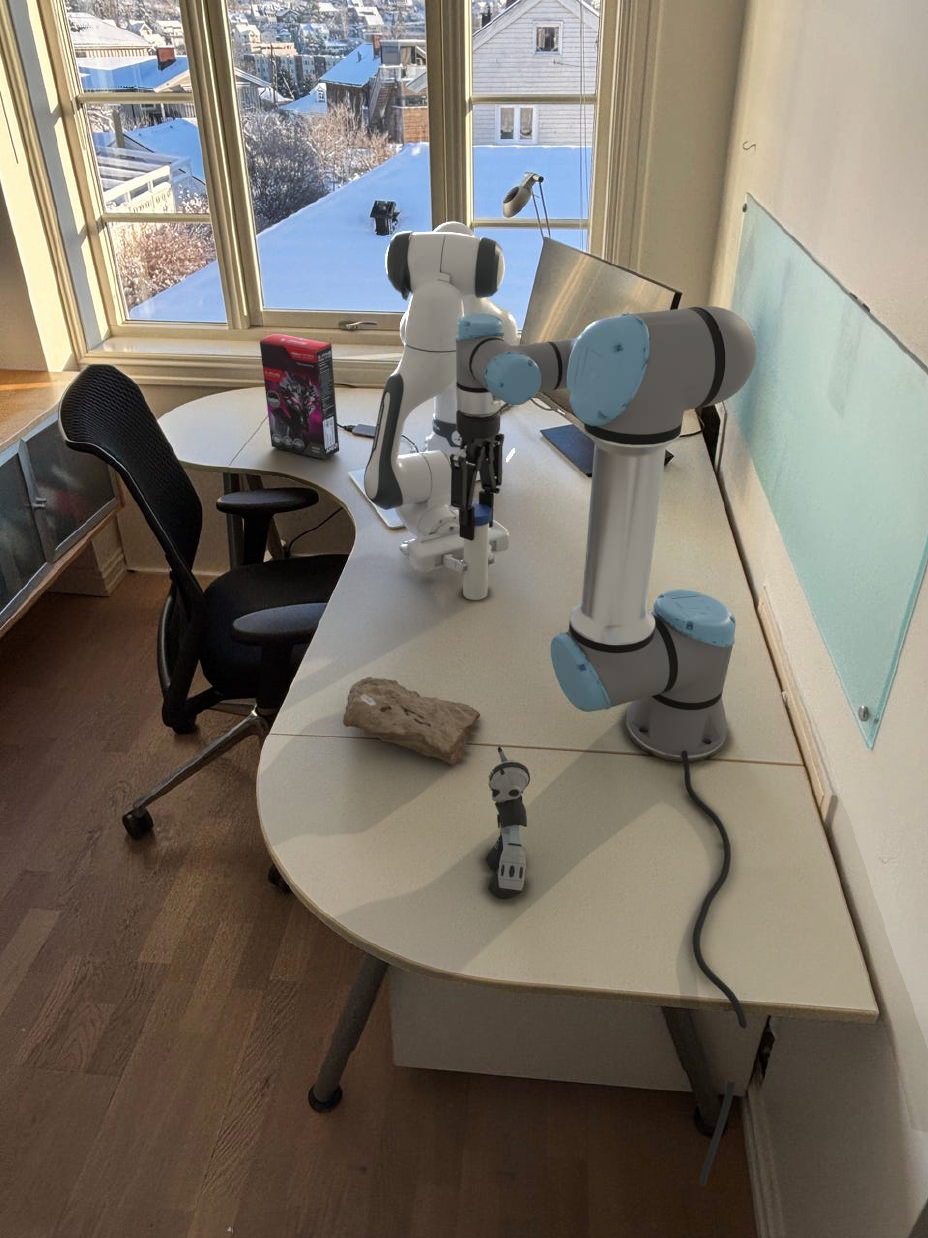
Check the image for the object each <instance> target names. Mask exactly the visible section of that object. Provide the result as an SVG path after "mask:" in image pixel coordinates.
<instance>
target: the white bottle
mask: <svg viewBox="0 0 928 1238" xmlns="http://www.w3.org/2000/svg"><path fill="white" fill-rule="evenodd" d="M488 549H489V523H488V524H486V525H483V526H474V540H472V541H471V540H468V539H465V538H464V554H463V560H464V561H465V562H466V563H467V571H464V572H462V573H463V574H462V575H463V576H462V579H463V580H462V594H463V596H464V597H465V598H466V599H468V600H470V601H471V600H472V601H480V600H483V599H485V598H487V596H488V588H489V587H488V584H489V581H488V580H489V565H488Z"/></svg>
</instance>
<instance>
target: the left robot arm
mask: <svg viewBox="0 0 928 1238" xmlns="http://www.w3.org/2000/svg"><path fill="white" fill-rule="evenodd" d="M386 249H387V250H386V253H385V269H386V273H387V278H388V279H387V280H388V281H389V283H390V284H391V287H393V288H394V290H395V291H396V292H398V293H400V294H401V298H402V300H404V301H408V299H409V296H410V294H411V296H410V300H409V304H408V309H407V310H406V312H405V313H404V315H402V319H401V321H400V324H399V325H400V326H399V335H400V340H401V342H402V344H403V352H402V356H401V359H400V361H399V363H398V365H397V368H396V369H395V370H394V372H393V373H392V374H391V375H389V376H388V377H387V379H386V381H385V383H384V387H383V391H382V395H381V399H380V404H379V410H378V414H377V420H376V426H375V431H374V434H373V435H374V436H373V441H372V447H371V452H370V455H369V458H368V462H367V464H366V467H365V470H364V475H363V488H364V493H365V495H366V498H368V500H370V502H371V503H373V504H374V505H375V506H376V507H379V508H380V509H383V510H385V511H389V510H392V509H394V511H395V513H396V516H397V517H398V519H399V520H400V522H401V524H402V525H403V526H404V527H405V528H406V529H407V530H408V531H409V532H410V533H411V534H412V535H413V536H414V537H415V538H414V537H413V538H411V539H409V540H406V541H404V542H403V543H402V544H400V546H399V551H400V552H401V553H402V554H403V555H405V556H407V559H408V562H410V564H411V566H412V567H413V569H414V570H415V571H416V572H419V573H426V572H430V571H434V570H438V569H441V568H444V567H445V568H447V569H452V570H455V571H457V572H458V573H463V572H464V571H467V563H466V562H465V561H464V560H463V554H464V538H462V537H459V533H460V523H459V509H451V508H450V507H452V506H451V463H450V455H451V454H455V455H456V454H457V453H458V452H459V451H460V445H461V440H462V438H461V436H460V435H459V433H458V432H457V430H456V412H457V410H458V409H457V408H456V342H455V340H456V335H457V323H458V321H459V319H460V318H462V317H463V316H466V315H469V314H480V313H481V314H491V315H495V316H497V317H499V318H500V319H501V320H502V322H503V332H504V336H503V340H504V341H505V342H507V343H508V344H510V345H512V346H515V345H516V343H517V339H518V332H519V331H518V330H519V329H518V325H517V321H516V319H515V316H514V315H513V313H511V312H510V310H508V309H507V308H504V307H502V306H500V305H498V304H497V303H495V302H494V301H492V299H490V298H491V297H493V296H494V295H495V294H496V293H497V292H498V291H499V289H500V288H499V287H500V286H501V284H502V282H503V279H504V278H505V272H506V260H505V257H504V253H503V248H502V246H501V245H500V244H499V242H498V241H497V240H494V239H492V238H488V237H485V236H481V237H477V236H476V234H475V233H474V232H473V230H472V229H471V228H470V227H469V226H467V225H466V224H464V223H462V222H459V221H448V222H444V223H442V224H440V225H438V226H437V227H436V228H435V229H434V230H433V231H425V232H423V231H422V232H414V230H407V231H401V232H396V233H395V234H394V235H393V236H392V237H391V239H390V241H389V245H388V247H387V248H386ZM431 399H433V405H434V406H433V407H434V413H433V414H432V418H431V420H432V421H431V425H432V432H431V434H430V435H429V436H425V438H424V446H425V447H426V450H425V451H420V452H415V453H407V454H400V455H399V452H400V447H401V442H402V437H403V432H404V428H405V423H406V420H407V419H408V417H409V415H410V414H411V413H412V412H413V411H414V410H415V409H416V408H418V407H419V406H420V405H422V404H423V403H425V402H427V401H429V400H431ZM508 406H511V405H510V404H507V403H505V402H504V404H502V405H500V409H499V411H500V412H501V411H503V410H504V409H506V408H507V407H508ZM515 452H516V450H515V448H513V449H512V450H511V451H510V453H509V454H508V455H507V457H506V461H505V462H506V463H508V462H509V460H510V459H511V458H512V457H513V455H514V453H515ZM469 464H471V463H469ZM472 465H475V464H472ZM477 481H481V480H480V474H479V471H478V472H477V477H476V482H477ZM510 537H511V536H510V532H509V530H508V529H506V528H505V527H504V526H503V525H502V524H500V523H499V522H498V521H497V520H495V519H493V526H492V527H491V528H489V549H488V566H489V565H493V564H496V556H495V554H497V553H501V552H505V551H507V550H508V549H509V546H510V542H511V541H510Z"/></svg>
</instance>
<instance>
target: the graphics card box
mask: <svg viewBox="0 0 928 1238" xmlns="http://www.w3.org/2000/svg"><path fill="white" fill-rule="evenodd" d="M259 348H260V356H261V357H260V358H261V364H262V365H261V366H262V373H263V382H264V391H265V398H266V399H265V400H266V409H267V416H268V417H267V418H268V425H269V434H270V444H271V448H272V447H273V448H276V449H280V450H285V451H289V452H293V453H298V454H302V455H306V456H309V457H313V458H314V457H315V458H318V459H322V460H326V459H328V458H329V457H331V456H333V455H334V454H336V453H338V452H339V451H340V443H339V441H340V440H339V431H338V430H339V429H338V414H337V403H336V390H335V389H336V388H335V376H334V364H333V363H334V362H333V350H332V349H333V345H332V343H331V342H324V341H318V340H314V339H313V340H312V339H307V338H302V337H297V336H292V335H286V334H281V333H272V334H269V335H266V336H265V337H264V338H262V339H261V340H259Z"/></svg>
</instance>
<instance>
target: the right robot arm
mask: <svg viewBox="0 0 928 1238" xmlns="http://www.w3.org/2000/svg"><path fill="white" fill-rule="evenodd" d="M503 336H504V332H503V322H502V320H501V319H500V318H499V317H497V316H495V315H491V314H481V313H480V314H469V315H466V316H463V317H462V318H460V319H459V321H458V323H457V335H456V340H455V342H456V408H457V409H458V410H457V412H456V430H457V432H458V433H459V435H460V436H461V438H462V440H461V445H460V451H459V452H458V453H457V454H456V455H455V454H451V455H450V463H451V506H450V507H453V508H456V509H458V510H459V523H460V533H459V537H462V538H465V539H468V540H471V541H472V540H474V515H475V507H474V506H472V503H473V500H474V495H475V488H476V484H477V483H476V482H477V481H476V477H477V472H478V471H479V474H480V480H479V481H480V485H481V489H482V490H479V491H478V503H480V504H485V505H488V506H489V507H490V508H491V509H492V520H491V522H490V523H489V528H491V527H492V526H493V520H494V505H495V494H496V495H499V494H500V492H501V489H500V487H501V486H502V484H503V447H504V441H505V434H504V433H500V431H501V411H499V409H500V407H501V401H502V402H504V404H505V403H507V404H510V405H509V406H521V405H524V404H526V403H527V402H529V401H530V400H532V399H533V398H535V397H536V395H537V394H538V393H546V392H550V391H557V390H564V389H567V390H566V391H567V392H568V393H569V394H570V396H569V399H568V402H569V405H570V408H571V410H572V412H573V413H574V415H575V417H576V418H577V419H578V420H579V421H580V423H581V422H582V423H583V431H584V433H585V434H586V435H587V436H588V437H589V438H590V439H591V440H592V441H593V442H594V447H593V448H594V450H593V459H592V460H593V461H592V473H591V485H590V486H591V488H590V496H589V497H590V500H589V512H588V523H587V535H586V547H585V560H584V561H585V562H584V563H585V564H584V574H583V584H582V597H581V602H579V603H578V604H576V605H575V606H574V607H573V608H572V609H571V611H570V613H569V620H568V621H569V623H568V631H565V632H564V631H563V632H562V631H560V632H559V633H558V634H556V635H555V636H554V637H553V638H552V640H551V643H550V658H551V659H550V660H551V664H552V668H553V671H554V675H555V677H556V679H557V682H558V684H559V687H560V689H561V690H562V692H563V694H564V696H565V697H566V698H567V700H568V701H569V702H570V704H571V705H572V706H573V707H574V708H576V709H577V710H579V711H581V712H584V713H592V712H597V711H602V710H610V709H611V708H614V707H619V706H621V705H625V704H628V703H630V704H629V706H628V708H627V713H626V719H625V728H626V732H627V734H628V736H629V738H630V739H631V741H632V742H634V744H636V745H637V746H638V747H639V748H640V749H641V750H643V751H645V752H646V753H648V754H650V755H651V756H654V757H656V758H659V759H662V760H666V761H670V762H675V763H682V765H683V772H684V785H685V789H686V791H687V793H688V795H689V797H690V799H692V801H693V802H694V803H695V805H697V806H698V807H699V808H700V809H701V811H703V812H704V813H705V814H706V815H707V816H708V817H709V818H710V819H711V820H712V821H713V823H714V824H715V826H716V828H717V829H718V832H719V834H720V836H721V840H722V845H723V864H722V868H721V872H720V874H719V876H718V878H717V879H716V882H715V883H714V884H713V886H712V887H711V889H710V890H709V891H708V893H707V895H706V896H705V898H704V900H703V902H702V906H701V908H700V911H699V914H698V917H697V919H696V922H695V925H694V928H693V932H692V933H693V934H692V935H693V936H692V949H693V954H694V955H693V956H694V958H695V961H696V963H697V965H698V967H699V969H700V971H702V973H703V974H704V975H705V977H706V978H707V979H708V980H709V981H710V982H711V983H712V984H714V985H715V986H716V987H717V988H718V989H719V990H720V991H721V992H722V993H723V994H724V995H725V996H726V998H727V999H728V1000H729V1002H730V1003H731V1006H732V1007H733V1009H734V1010H735V1014H736V1017H737V1021H738V1024H739V1027H740V1028H742V1029H747V1027H748V1024H747V1017H746V1014H745V1012H744V1009H743V1005H742V1004H741V1002H740V1001H739V999H738V997H737V996H736V994H735V993H734V992H733V990H732V989H731V988H730V987H729V986H728V985H727V984H726V983H725V982H724V981H723V980H721V978H720V977H718V976H717V975H716V974H715V973H714V972H713V971H712V969H710V968H709V966H708V965H707V963H706V962H705V960H704V958H703V955H702V949H701V934H702V930H703V927H704V924H705V921H706V918H707V915H708V912H709V909H710V906H711V904H712V902H713V900H714V898H715V897H716V895H717V894H718V893H719V891H720V889H721V888H722V886H723V885H724V884H725V882H726V880H727V877H728V875H729V872H730V868H731V860H732V859H731V856H732V852H731V850H732V849H731V844H730V839H729V836H728V833H727V830H726V828H725V826H724V824H723V822H722V820H721V819H720V818H719V816H718V815H717V813H715V811H713V809H711V808H710V807H709V806H708V805H707V804H706V803H705V802H703V800H701V799H700V797H699V796H698V795H697V793H696V792H695V790H694V789H693V786H692V781H691V780H692V779H691V768H690V763H694V762H700V761H703V760H706V759H709V758H711V757H714V755H716V754H718V752H720V751H721V750H722V748H723V747H724V744H725V743H726V740H727V739H726V738H727V733H728V721H727V716H726V712H725V708H724V707H725V706H724V701H723V692H724V686H725V682H726V678H727V674H728V669H729V664H730V660H731V654H732V652H733V647H734V644H735V642H736V638H735V632H736V627H737V626H736V617H735V616H734V614H733V612H732V611H731V609H730V608H729V607H728V606H727V605H726V604H724V603H723V602H722V601H720V600H719V599H717V598H715V597H712V596H710V595H708V594H705V593H703V592H699V591H695V590H690V589H671V590H666V591H664V592H662V593H660V594H659V595H658V596H657V597H656V598H657V599H656V600H655V601H654V602H653V611H650V610H649V609H648V608H647V602H648V593H649V587H650V580H651V579H650V578H651V571H652V563H653V556H654V554H653V553H654V547H655V540H656V539H655V538H656V530H657V524H658V523H657V522H658V516H659V506H660V498H661V492H662V491H661V490H662V482H663V473H664V467H665V458H666V452H667V448H668V447H669V446H670V445H672V443H674V442H676V441H677V440H678V439H679V438H680V436H681V434H682V427H683V421H684V418H683V417H684V413H685V412H686V411H689V410H695V409H702V408H706V407H711V406H714V405H717V404H720V403H722V402H724V401H726V400H728V399H730V398H731V397H733V396H734V395H736V394H737V393H738V392H739V391H740V390H741V389H742V388H743V387H744V386H745V385H746V382H747V381H748V380H749V378H750V377H751V376H752V373H753V371H754V368H755V364H756V359H757V346H756V339H755V337H754V333H753V331H752V329H751V328H750V326H749V324H748V323H747V322H746V321H745V320H744V319H743V318H742V317H741V316H739V315H738V314H736V313H735V312H733V311H731V310H729V309H727V308H723V307H720V306H712V305H711V306H710V305H701V306H700V305H699V306H690V307H685V308H677V309H667V310H660V311H659V310H658V311H657V310H656V311H647V312H637V313H630V312H625V313H621V314H618V315H615V316H612V317H605V318H602V319H597V320H596V321H593V322H592V323H590V324H589V325H587V326H586V327H585V329H584V331H582V332H581V333H579V335H578V337H571V338H565V339H557V340H551V341H549V340H548V341H541V342H540V341H539V342H533V343H532V342H531V343H523V344H515V345H514V346H512V345H510V344H508V343H507V342H505V341H504V340H503ZM469 463H471V464H469ZM472 464H475V465H472ZM498 487H499V488H498ZM735 1087H736V1083H735V1082H731V1081H727V1084H726V1089H725V1092H724V1098H723V1101H722V1105H721V1108H720V1113H719V1116H718V1120H717V1123H716V1126H715V1129H714V1133H713V1135H712V1138H711V1141H710V1144H709V1148H708V1150H707V1152H706V1153H707V1154H706V1157H705V1160H704V1163H703V1166H702V1169H701V1173H700V1176H699V1180H698V1183H699V1185H700V1186H701V1187H704V1186H706V1184H707V1180H708V1177H709V1174H710V1170H711V1167H712V1164H713V1161H714V1157H715V1155H716V1153H717V1152H716V1151H717V1149H718V1146H719V1142H720V1141H721V1138H722V1135H723V1131H724V1128H725V1126H726V1123H727V1119H728V1115H729V1111H730V1108H731V1104H732V1101H733V1096H734V1091H735Z"/></svg>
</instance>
